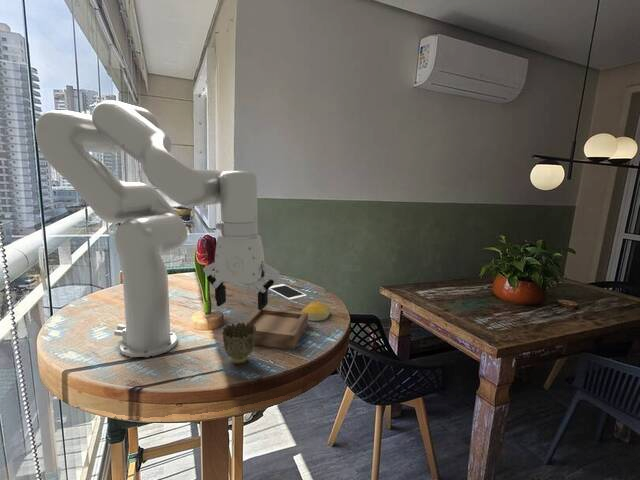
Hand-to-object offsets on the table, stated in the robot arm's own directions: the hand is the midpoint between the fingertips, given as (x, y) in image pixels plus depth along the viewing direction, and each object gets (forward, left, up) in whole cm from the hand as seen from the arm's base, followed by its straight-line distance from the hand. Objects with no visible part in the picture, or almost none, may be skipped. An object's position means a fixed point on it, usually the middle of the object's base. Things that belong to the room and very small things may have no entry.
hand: (241, 306), depth 76 cm
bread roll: (+11, +31, -14) cm, 36 cm away
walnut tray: (+2, +16, -14) cm, 21 cm away
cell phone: (-5, +50, -14) cm, 52 cm away
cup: (-1, 0, -14) cm, 14 cm away
